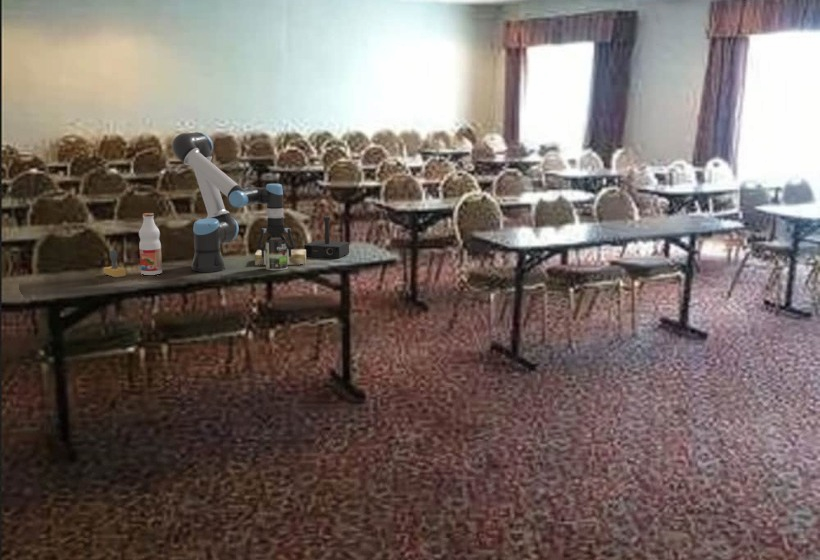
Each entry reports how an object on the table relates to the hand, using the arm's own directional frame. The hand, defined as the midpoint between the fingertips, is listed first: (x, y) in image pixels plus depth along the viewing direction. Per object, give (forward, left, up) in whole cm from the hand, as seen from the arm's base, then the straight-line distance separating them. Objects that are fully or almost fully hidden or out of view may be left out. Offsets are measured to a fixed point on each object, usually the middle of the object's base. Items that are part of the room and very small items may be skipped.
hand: (276, 263), depth 413 cm
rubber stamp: (-72, -12, -3) cm, 73 cm away
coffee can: (0, 0, -2) cm, 2 cm away
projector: (+23, +33, -3) cm, 40 cm away
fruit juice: (-56, -10, -3) cm, 57 cm away
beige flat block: (+1, +16, -2) cm, 16 cm away
